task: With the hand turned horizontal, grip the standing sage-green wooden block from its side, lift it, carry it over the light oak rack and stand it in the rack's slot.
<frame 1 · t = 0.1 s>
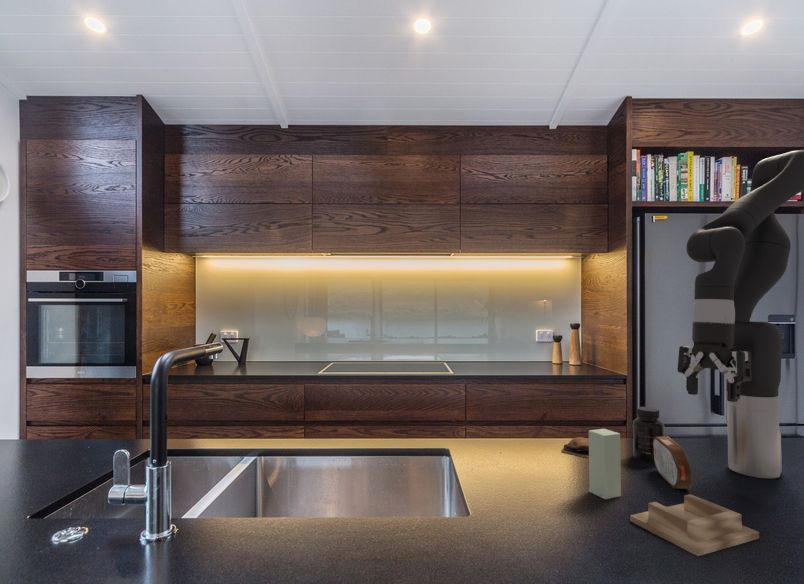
hand: (711, 397, 98), 17 cm above the table, tool pointing down, fingers open, 8 cm apart
tin: (670, 482, 98), on the table
rack: (689, 528, 77), on the table
green block: (605, 493, 91), on the table
bread roll: (583, 453, 118), on the table
supplement bottle: (649, 459, 112), on the table
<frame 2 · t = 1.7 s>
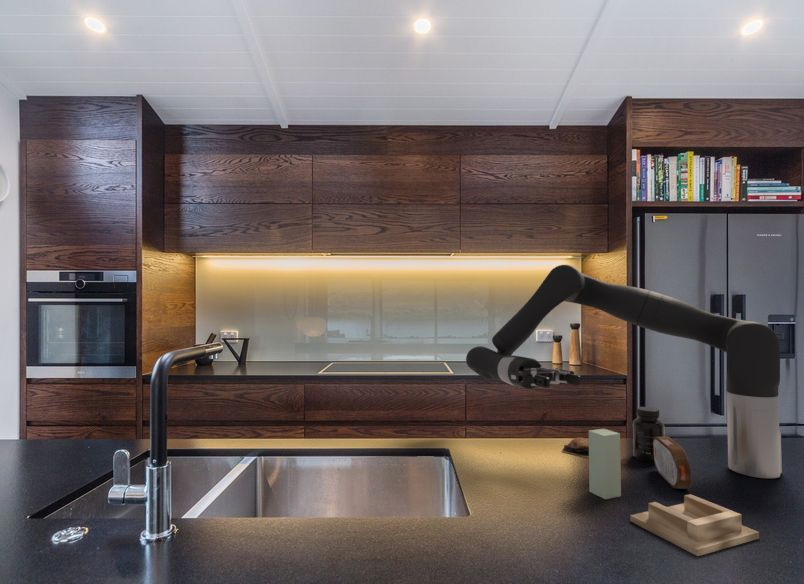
hand: (564, 381, 102), 20 cm above the table, tool horizontal, fingers open, 8 cm apart
nothing on the table moved.
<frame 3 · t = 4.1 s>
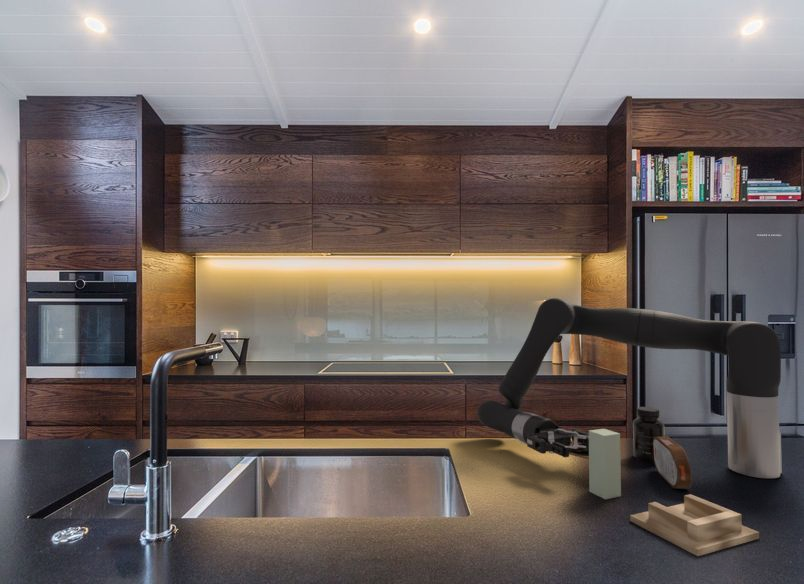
hand: (584, 450, 96), 7 cm above the table, tool horizontal, fingers open, 8 cm apart
nothing on the table moved.
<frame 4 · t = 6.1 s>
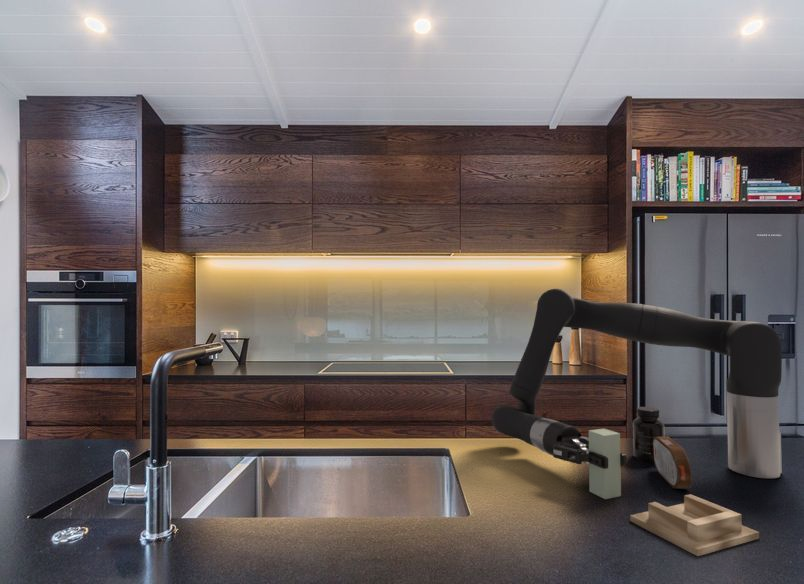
hand: (615, 461, 89), 7 cm above the table, tool horizontal, fingers closed on green block, 4 cm apart
green block: (605, 493, 91), on the table, touching gripper
everything else where it was.
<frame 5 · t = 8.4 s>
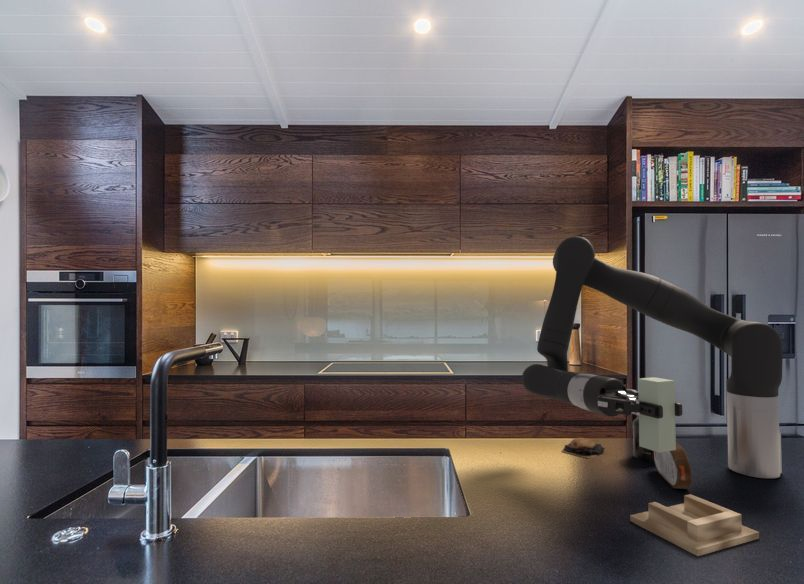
hand: (670, 411, 79), 19 cm above the table, tool horizontal, fingers closed on green block, 4 cm apart
green block: (657, 447, 82), point 12 cm above the table, touching gripper
everything else where it was.
when the fingers open (9 cm above the table, at t = 10.9 s): green block drops 1 cm, resting on rack.
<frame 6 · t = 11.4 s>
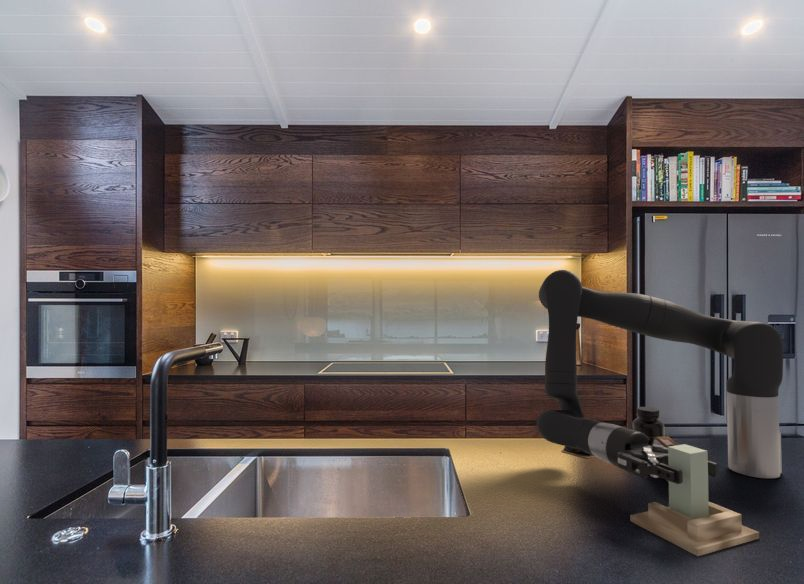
hand: (699, 474, 75), 10 cm above the table, tool horizontal, fingers open, 8 cm apart
green block: (688, 521, 77), point 1 cm above the table, touching rack
everything else where it was.
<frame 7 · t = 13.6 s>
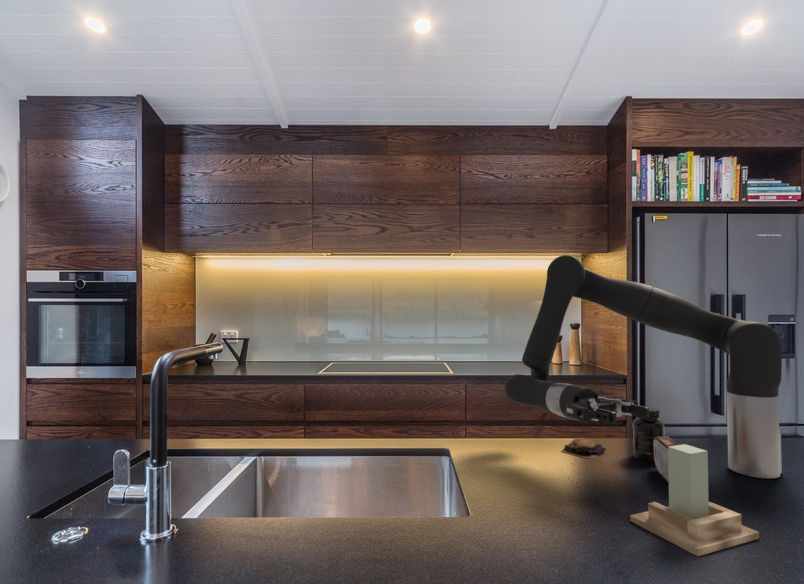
hand: (632, 415, 89), 16 cm above the table, tool horizontal, fingers open, 8 cm apart
nothing on the table moved.
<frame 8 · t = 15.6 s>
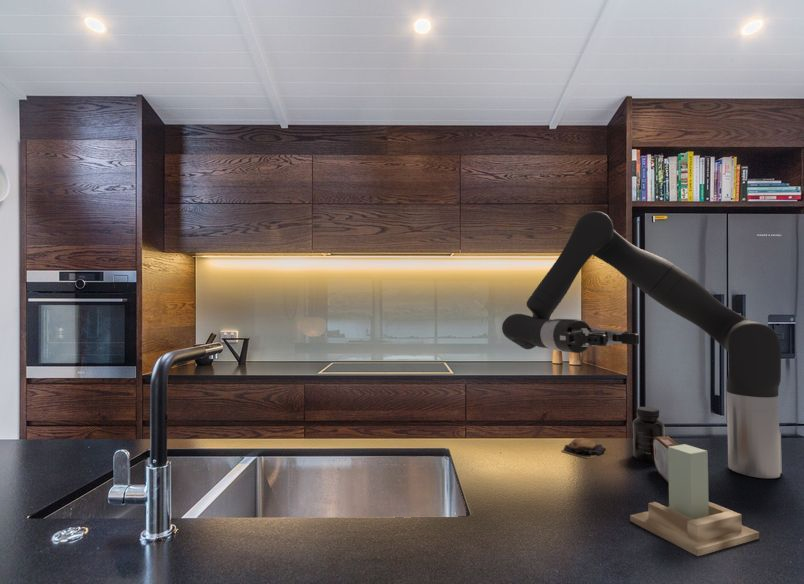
hand: (621, 339, 93), 30 cm above the table, tool horizontal, fingers open, 8 cm apart
nothing on the table moved.
at the end: green block 0.1 cm off-centre on the rack, point 1.0 cm above the rack's base; green block tilted 0°; green block moved 16.1 cm from its start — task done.
